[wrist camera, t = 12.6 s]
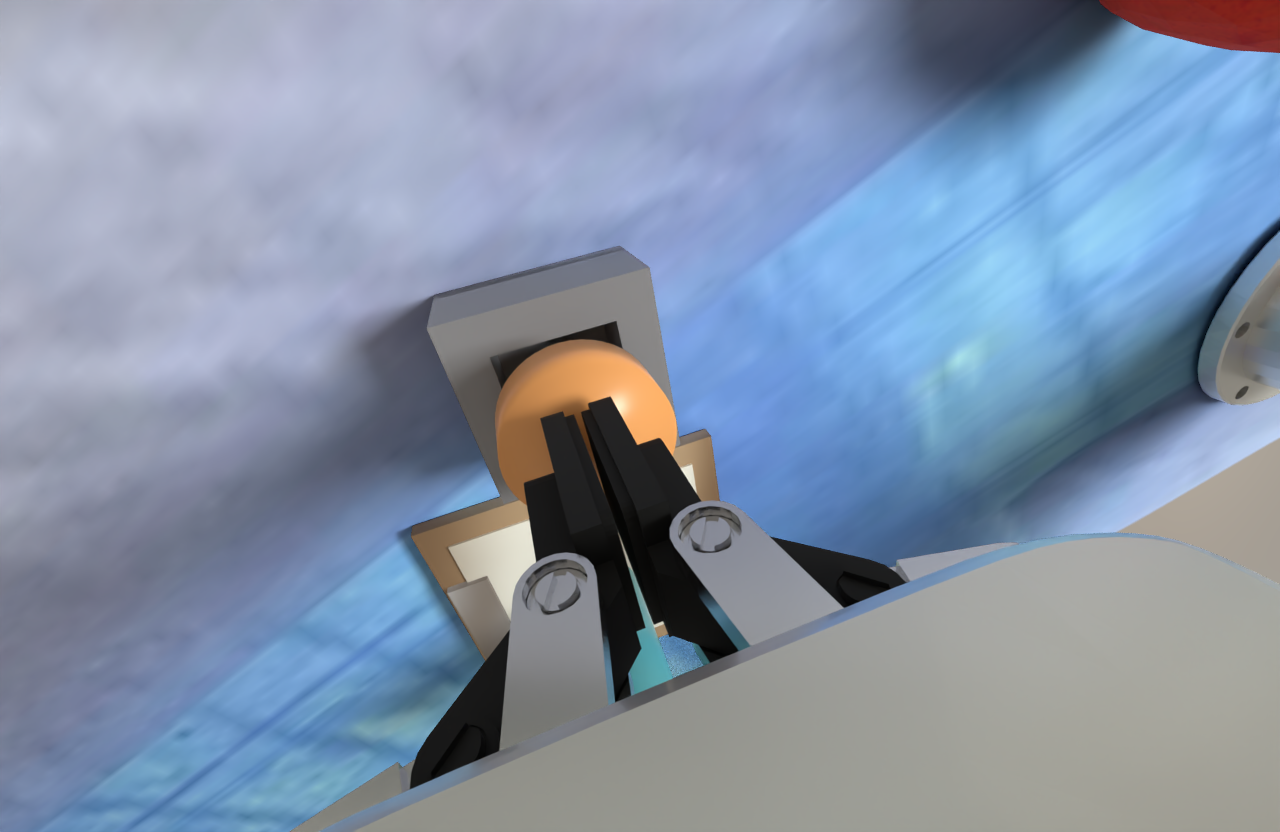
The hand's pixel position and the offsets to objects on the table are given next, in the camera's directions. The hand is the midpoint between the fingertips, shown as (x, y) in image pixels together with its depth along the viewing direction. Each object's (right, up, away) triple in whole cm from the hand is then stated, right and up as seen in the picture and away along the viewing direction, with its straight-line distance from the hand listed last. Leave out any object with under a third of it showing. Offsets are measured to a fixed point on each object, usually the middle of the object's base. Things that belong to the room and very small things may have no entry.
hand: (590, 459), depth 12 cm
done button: (-1, +2, +4) cm, 5 cm away
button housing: (-2, +3, +6) cm, 7 cm away
